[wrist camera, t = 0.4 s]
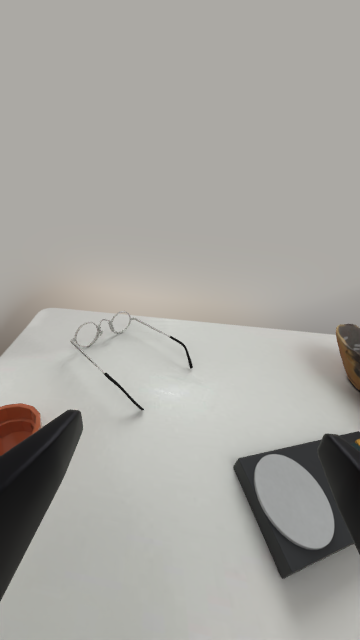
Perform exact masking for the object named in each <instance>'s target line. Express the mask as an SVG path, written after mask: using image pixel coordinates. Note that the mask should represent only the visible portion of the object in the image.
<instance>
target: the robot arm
mask: <svg viewBox="0 0 360 640" xmlns="http://www.w3.org/2000/svg"><path fill="white" fill-rule="evenodd" d="M82 430H83V423H82V416H81V412H80V411H79V410H67V411H66V412H64V413H63V414H61V415H60V416H58V417H57V418H55V419H54V420H53V421H51V422H50V423H48V424H47V425H45V426H44V427H42V428H41V429H39V430H38V431H36V432H35V433H33V434H32V435H31V436H29V437H28V438H26V439H25V440H23V441H22V442H20V443H19V444H17V445H16V446H14V447H13V448H11V449H10V450H8V451H7V452H6V453H4V454H3V455H1V456H0V601H1V599H2V597H3V595H4V593H5V591H6V589H7V587H8V585H9V583H10V581H11V580H12V578H13V576H14V574H15V572H16V570H17V568H18V566H19V564H20V562H21V560H22V558H23V556H24V554H25V552H26V550H27V548H28V546H29V544H30V543H31V541H32V539H33V537H34V535H35V533H36V531H37V529H38V527H39V525H40V523H41V521H42V519H43V517H44V515H45V513H46V511H47V509H48V507H49V506H50V504H51V502H52V500H53V498H54V496H55V494H56V492H57V490H58V488H59V486H60V484H61V482H62V480H63V478H64V475H65V473H66V471H67V468H68V466H69V463H70V461H71V458H72V456H73V454H74V451H75V449H76V446H77V444H78V441H79V439H80V436H81V434H82ZM318 457H319V460H320V462H321V465H322V468H323V470H324V473H325V476H326V478H327V481H328V484H329V486H330V489H331V492H332V494H333V497H334V499H335V502H336V504H337V507H338V509H339V511H340V514H341V516H342V518H343V520H344V522H345V524H346V527H347V529H348V531H349V533H350V535H351V537H352V539H353V541H354V544H355V546H356V548H357V550H358V552H359V554H360V451H359V450H358V449H356V448H355V447H354V446H352V445H351V444H350V443H348V442H347V441H346V440H344V439H343V438H342V437H340V436H339V435H335V434H325V435H324V436H323V438H322V440H321V442H320V445H319V447H318Z"/></svg>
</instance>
